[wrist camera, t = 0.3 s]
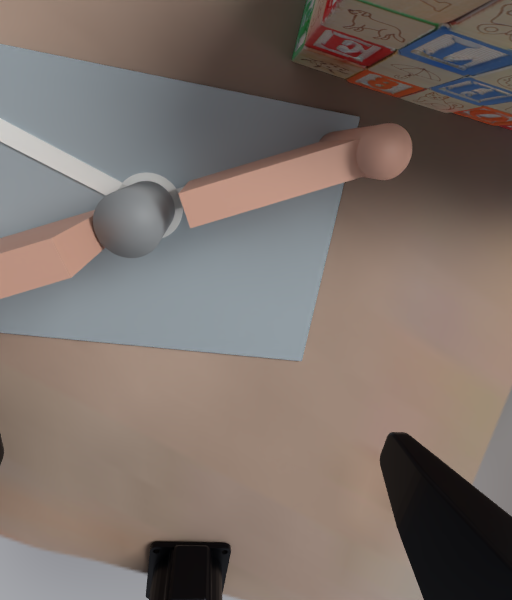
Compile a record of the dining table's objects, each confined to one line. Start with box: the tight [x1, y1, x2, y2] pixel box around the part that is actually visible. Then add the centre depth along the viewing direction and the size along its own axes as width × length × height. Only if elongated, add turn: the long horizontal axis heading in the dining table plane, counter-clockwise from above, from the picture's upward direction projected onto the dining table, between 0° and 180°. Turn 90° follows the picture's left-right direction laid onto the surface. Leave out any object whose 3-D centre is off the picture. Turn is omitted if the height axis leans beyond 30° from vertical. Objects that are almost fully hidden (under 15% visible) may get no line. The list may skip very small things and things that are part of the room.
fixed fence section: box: [178, 123, 412, 228], centre depth 17 cm, size 9×2×7 cm, turn 105°
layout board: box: [0, 44, 360, 361], centre depth 21 cm, size 15×25×1 cm, turn 80°
